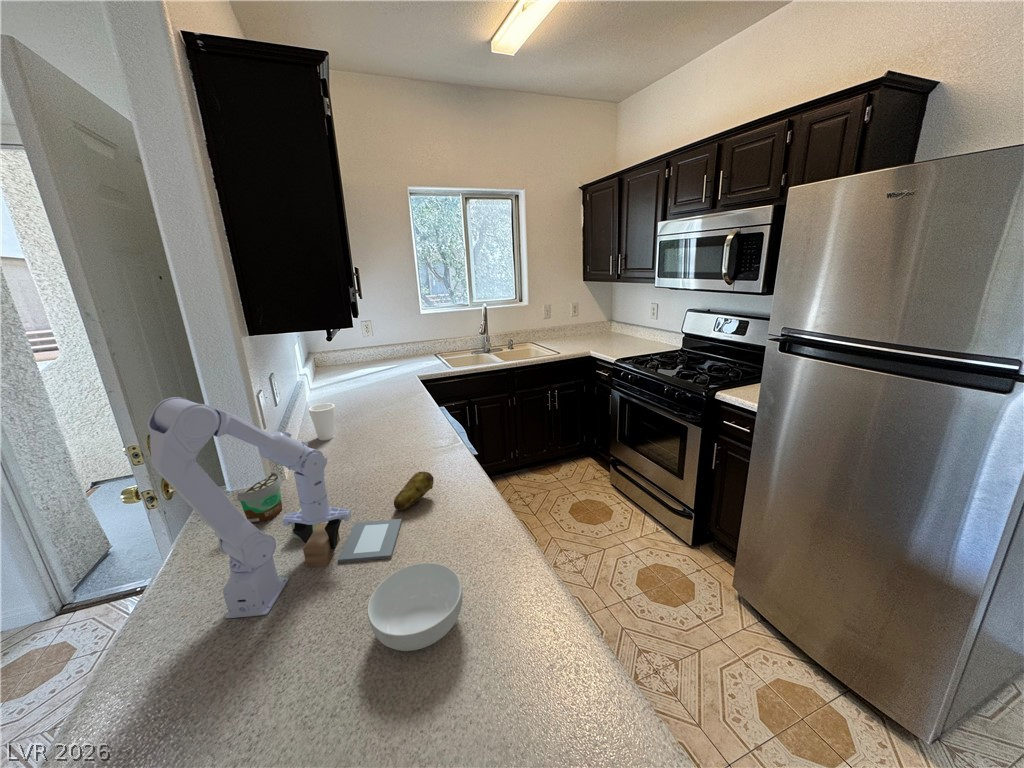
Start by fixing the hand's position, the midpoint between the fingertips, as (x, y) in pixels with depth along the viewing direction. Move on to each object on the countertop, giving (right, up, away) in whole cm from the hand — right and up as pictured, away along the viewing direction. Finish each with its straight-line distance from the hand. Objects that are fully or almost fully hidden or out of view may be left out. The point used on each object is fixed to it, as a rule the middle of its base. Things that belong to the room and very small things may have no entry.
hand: (323, 547), depth 94 cm
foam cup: (-31, +17, +68) cm, 76 cm away
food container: (-22, +2, +16) cm, 27 cm away
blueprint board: (+10, 0, +4) cm, 11 cm away
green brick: (-8, +1, +10) cm, 13 cm away
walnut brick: (0, -1, 0) cm, 2 cm away
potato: (+17, +5, +20) cm, 27 cm away
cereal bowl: (+27, -7, -20) cm, 34 cm away
